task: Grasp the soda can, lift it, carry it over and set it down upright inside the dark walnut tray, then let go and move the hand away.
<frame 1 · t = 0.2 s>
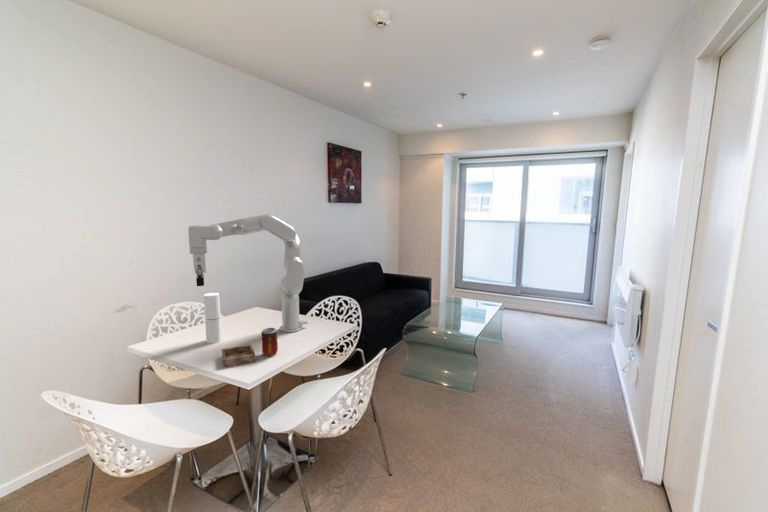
hand: (200, 283, 172), 31 cm above the table, tool pointing down, fingers open, 9 cm apart
tray: (238, 358, 157), on the table
soda can: (270, 354, 163), on the table
cylindrical container: (214, 341, 178), on the table
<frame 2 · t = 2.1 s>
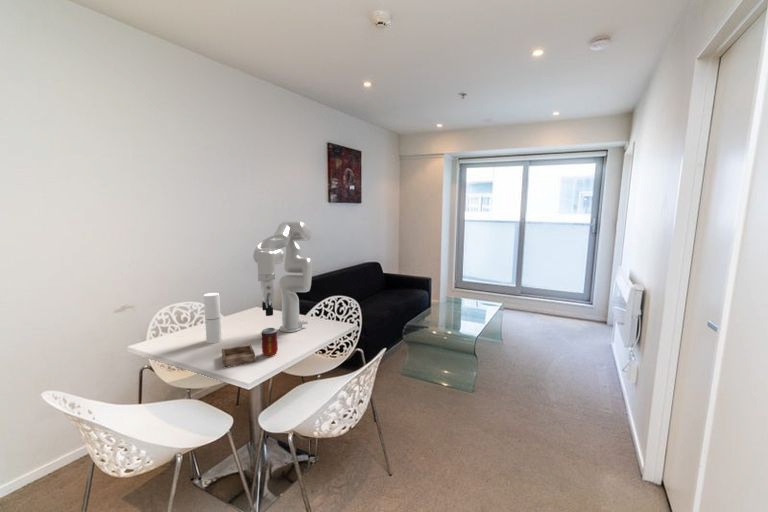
hand: (267, 312, 160), 21 cm above the table, tool pointing down, fingers open, 9 cm apart
nothing on the table moved.
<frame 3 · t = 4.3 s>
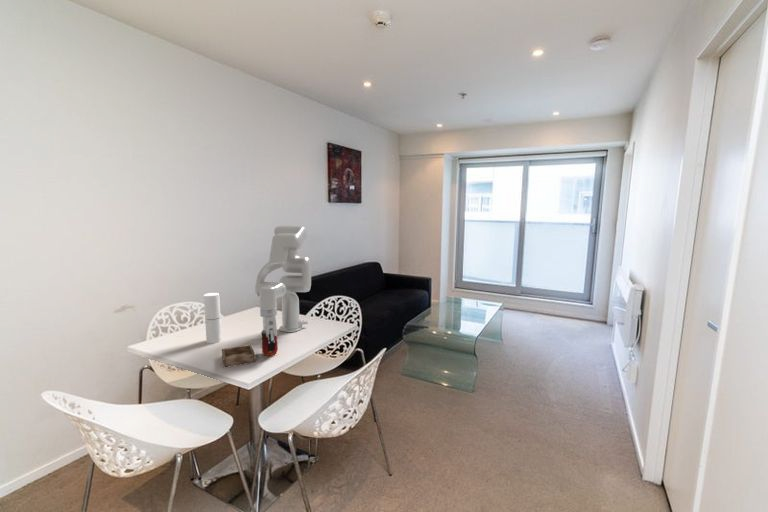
hand: (269, 347, 163), 3 cm above the table, tool pointing down, fingers closed on soda can, 7 cm apart
soda can: (270, 354, 163), on the table, touching gripper
everything else where it was.
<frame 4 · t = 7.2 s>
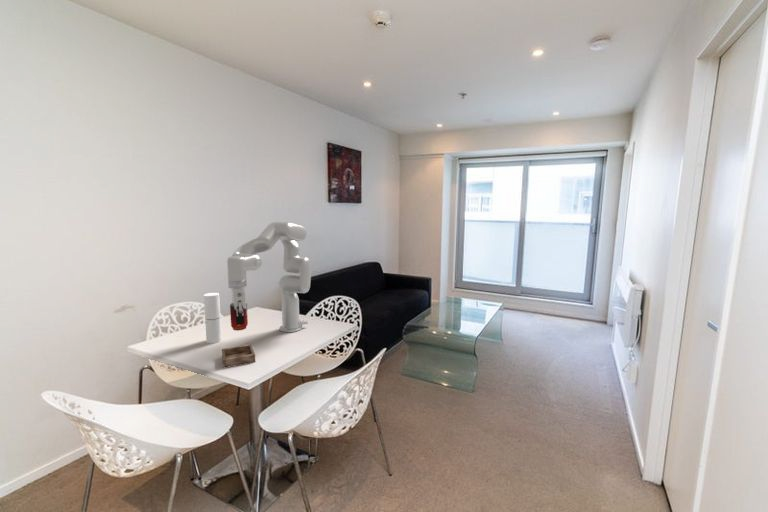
hand: (239, 321, 155), 18 cm above the table, tool pointing down, fingers closed on soda can, 7 cm apart
soda can: (239, 328, 156), point 14 cm above the table, touching gripper
everything else where it was.
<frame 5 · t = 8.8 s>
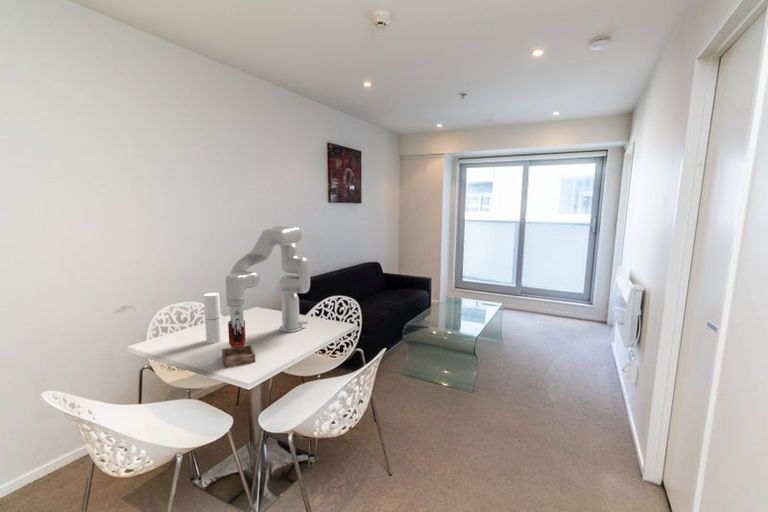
hand: (237, 338, 156), 10 cm above the table, tool pointing down, fingers closed on soda can, 7 cm apart
soda can: (237, 346, 156), point 6 cm above the table, touching gripper
everything else where it was.
when the fingers open (6 cm above the table, at t = 10.1 s): soda can drops 2 cm, resting on tray.
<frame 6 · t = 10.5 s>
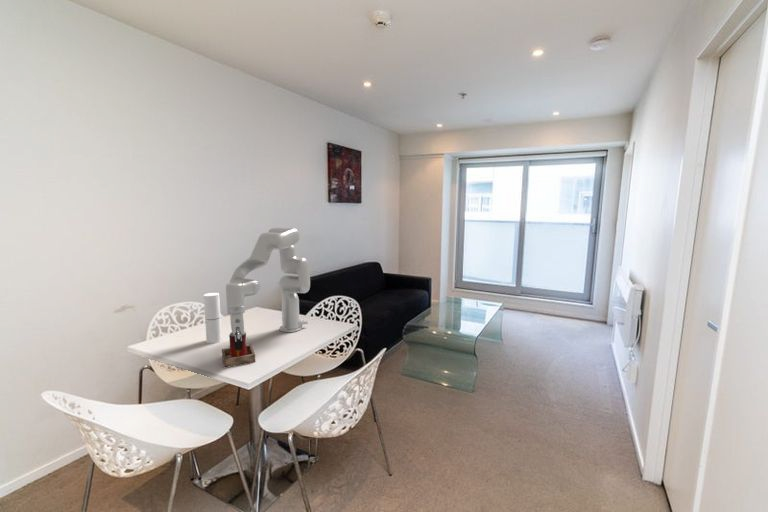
hand: (237, 345, 157), 7 cm above the table, tool pointing down, fingers open, 9 cm apart
soda can: (238, 357, 158), resting on tray
everything else where it was.
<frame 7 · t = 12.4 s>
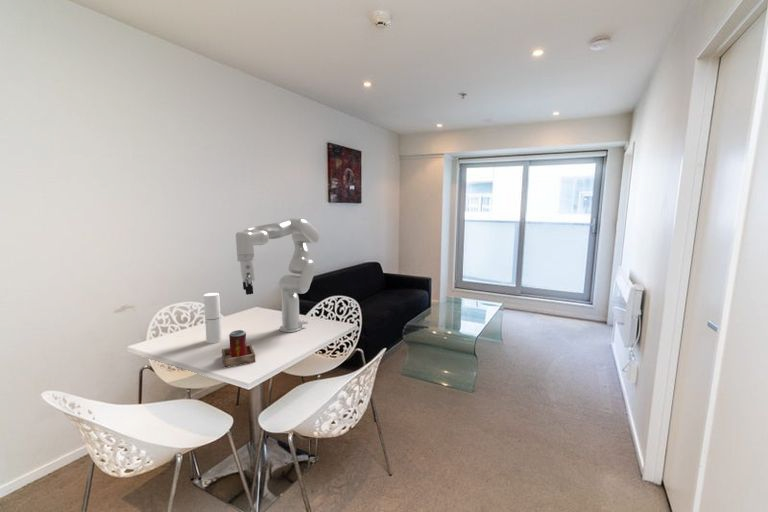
hand: (248, 291, 166), 29 cm above the table, tool pointing down, fingers open, 9 cm apart
nothing on the table moved.
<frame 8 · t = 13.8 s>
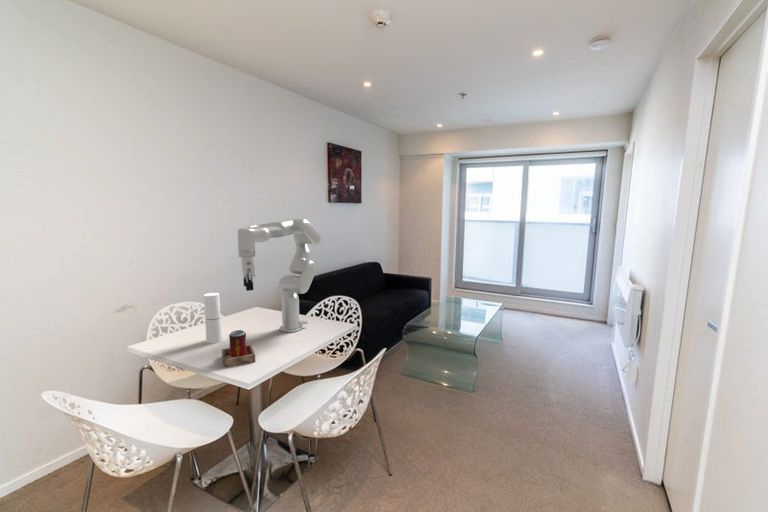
hand: (248, 288, 167), 30 cm above the table, tool pointing down, fingers open, 9 cm apart
nothing on the table moved.
at the end: soda can 0.4 cm off-centre on the tray, point 0.4 cm above the tray's base; soda can tilted 1°; the gripper is holding nothing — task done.
